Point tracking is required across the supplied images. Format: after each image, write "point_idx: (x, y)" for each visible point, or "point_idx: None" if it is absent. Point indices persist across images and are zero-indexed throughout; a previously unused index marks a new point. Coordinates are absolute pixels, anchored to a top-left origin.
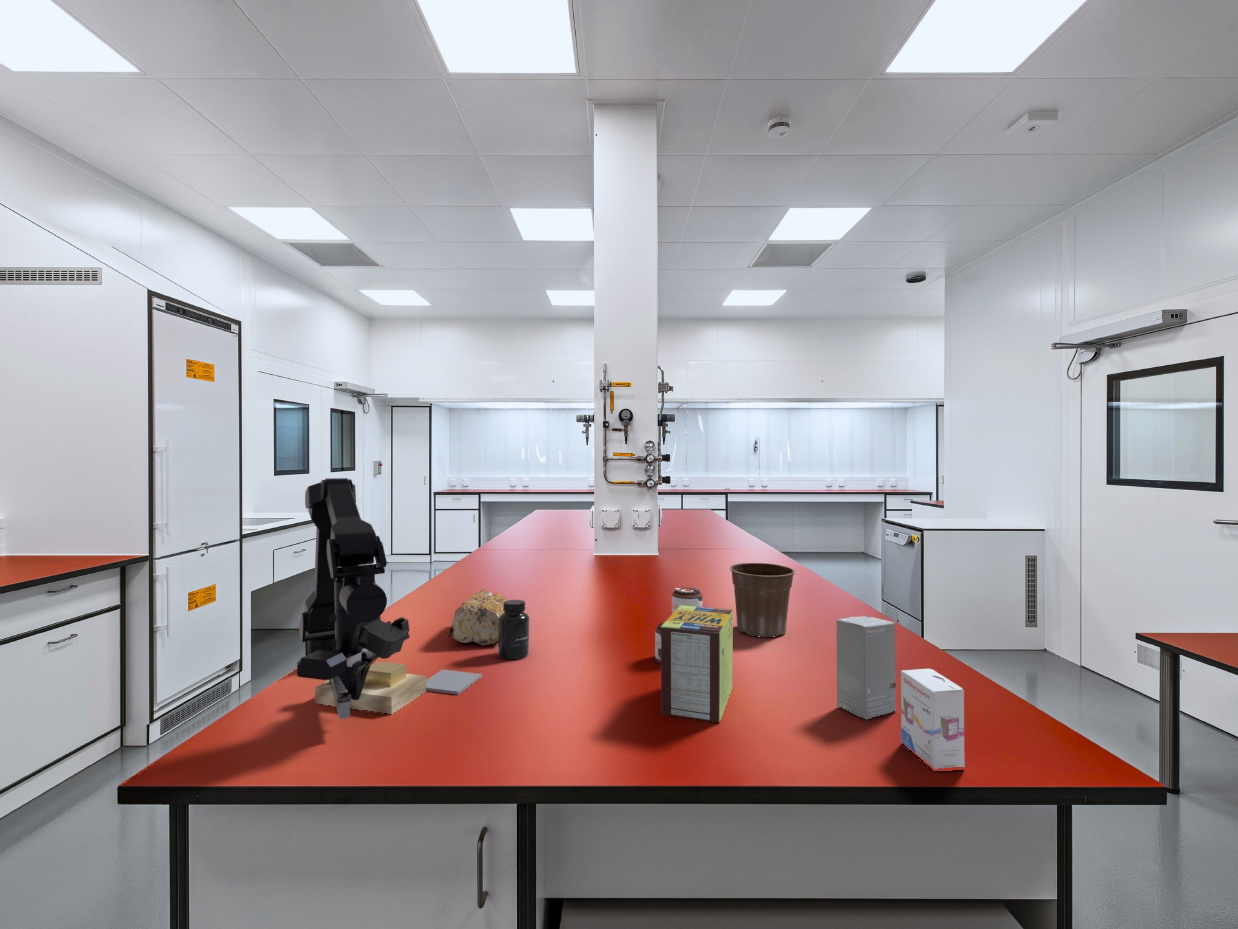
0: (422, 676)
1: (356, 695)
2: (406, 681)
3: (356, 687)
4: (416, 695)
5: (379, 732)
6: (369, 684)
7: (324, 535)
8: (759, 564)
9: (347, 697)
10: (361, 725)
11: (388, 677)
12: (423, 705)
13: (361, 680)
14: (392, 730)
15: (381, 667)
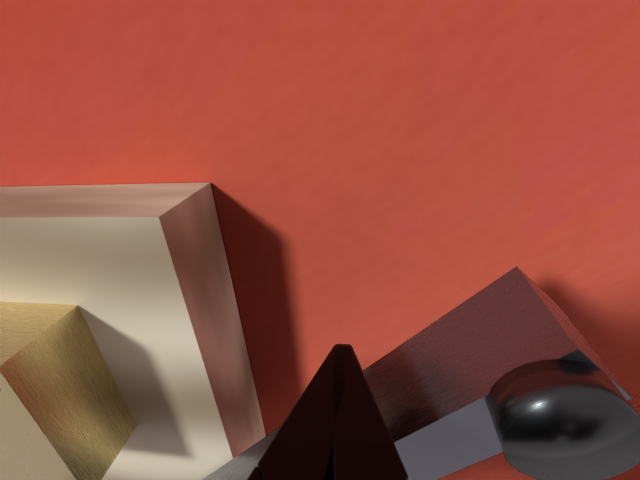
0: None
1: (361, 374)
2: None
3: (388, 436)
4: (20, 189)
5: (391, 102)
6: (126, 399)
7: None
8: None
9: (616, 399)
10: (350, 242)
11: (36, 356)
12: (51, 94)
13: (326, 477)
14: (349, 40)
15: (2, 444)
